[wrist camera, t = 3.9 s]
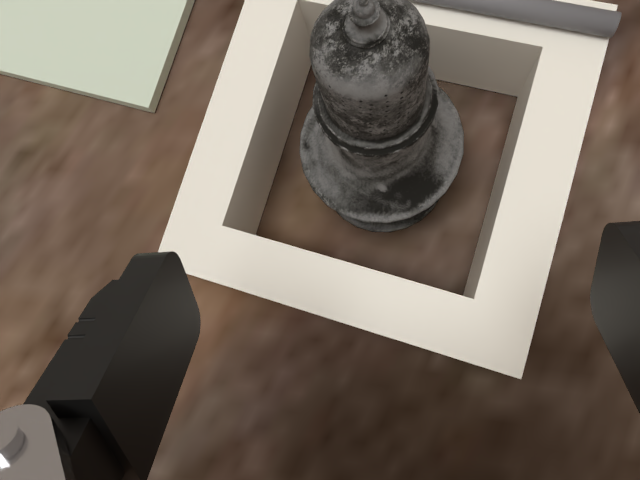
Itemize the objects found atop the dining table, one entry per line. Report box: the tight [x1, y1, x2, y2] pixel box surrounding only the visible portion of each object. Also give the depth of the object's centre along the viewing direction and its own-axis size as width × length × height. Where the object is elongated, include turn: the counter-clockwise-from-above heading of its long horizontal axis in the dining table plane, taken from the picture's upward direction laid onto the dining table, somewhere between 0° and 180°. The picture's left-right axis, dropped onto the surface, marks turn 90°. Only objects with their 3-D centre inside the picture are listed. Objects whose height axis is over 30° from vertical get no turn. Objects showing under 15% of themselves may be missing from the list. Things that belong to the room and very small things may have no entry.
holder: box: [158, 0, 621, 379], centre depth 20 cm, size 13×13×5 cm
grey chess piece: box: [300, 0, 464, 232], centre depth 16 cm, size 6×6×12 cm
